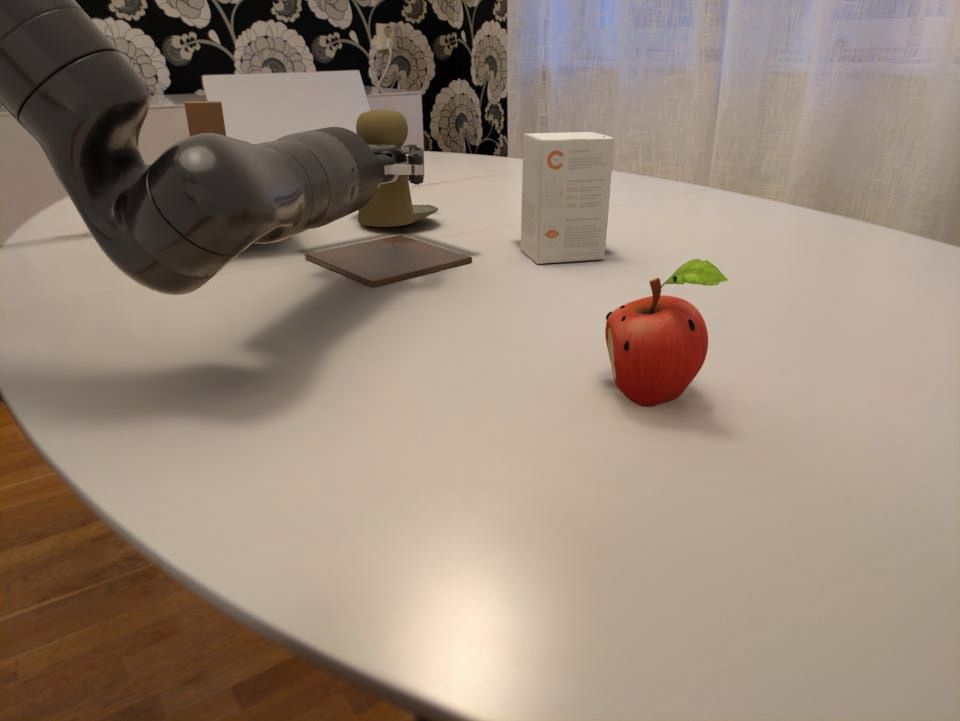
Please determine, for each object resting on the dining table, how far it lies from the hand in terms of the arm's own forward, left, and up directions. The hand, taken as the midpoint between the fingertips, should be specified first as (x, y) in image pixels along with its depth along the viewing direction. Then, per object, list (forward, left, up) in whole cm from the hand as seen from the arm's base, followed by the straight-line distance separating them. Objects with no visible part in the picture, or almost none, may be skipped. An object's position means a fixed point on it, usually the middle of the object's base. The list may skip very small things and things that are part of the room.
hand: (393, 154), depth 71 cm
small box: (+14, -12, -11) cm, 22 cm away
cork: (-2, -2, -7) cm, 7 cm away
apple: (-8, -39, -11) cm, 42 cm away
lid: (+9, +12, -11) cm, 18 cm away
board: (-2, -1, -11) cm, 11 cm away
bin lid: (-13, +17, -3) cm, 22 cm away
